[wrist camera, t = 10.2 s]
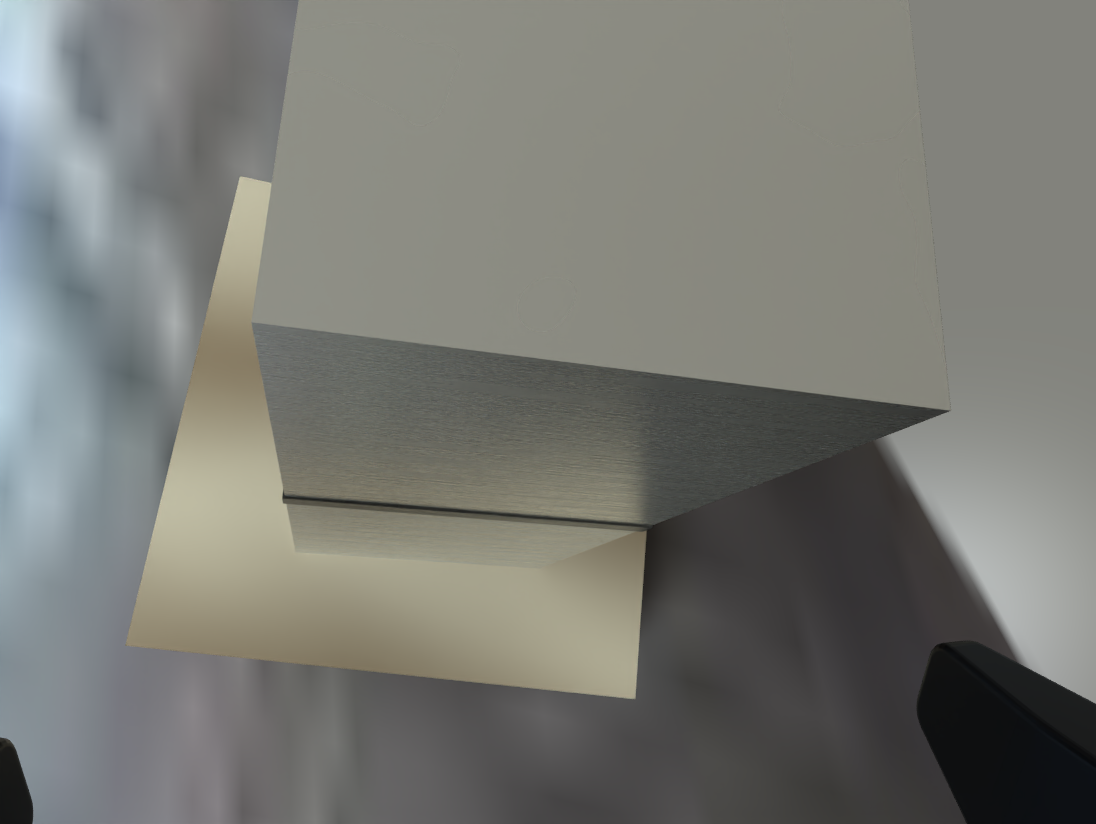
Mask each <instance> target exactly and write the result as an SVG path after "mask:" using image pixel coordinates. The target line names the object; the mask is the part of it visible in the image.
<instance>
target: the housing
mask: <svg viewBox="0 0 1096 824" xmlns="http://www.w3.org/2000/svg"><path fill="white" fill-rule="evenodd" d="M251 324H252V329H253V334H254V339H255V344H256V350H257V355H258V360H259V365H260V370H261V376H262V381H263V386H264V391H265V396H266V401H267V407H268V412H269V417H270V422H271V427H272V433H273V438H274V443H275V448H276V453H277V459H278V464H279V469H280V474H281V479H282V485H283V495H282V501H283V504H286V505H287V511H288V516H289V521H290V526H291V531H292V536H293V542H294V547H295V552H297V553H312V554H327V555H342V556H357V557H372V558H387V559H402V560H418V561H433V562H448V563H463V564H478V565H493V566H508V567H523V568H539V569H540V568H542V567H545V566H548V565H550V564H553V563H555V562H558V561H561V560H563V559H566V558H568V557H571V556H574V555H576V554H579V553H581V552H584V551H587V550H589V549H592V548H594V547H597V546H600V545H602V544H605V543H607V542H610V541H613V540H615V539H618V538H620V537H623V536H626V535H628V534H631V533H634V532H636V531H637V532H644V531H646V530H649V529H652V528H653V525H654V524H657V523H660V522H662V521H665V520H667V519H670V518H673V517H675V516H678V515H680V514H683V513H686V512H688V511H691V510H693V509H696V508H699V507H701V506H704V505H706V504H709V503H712V502H714V501H717V500H719V499H722V498H725V497H727V496H730V495H732V494H735V493H738V492H740V491H743V490H745V489H748V488H751V487H753V486H756V485H759V484H761V483H764V482H766V481H769V480H772V479H774V478H777V477H779V476H782V475H785V474H787V473H790V472H792V471H795V470H798V469H800V468H803V467H805V466H808V465H811V464H813V463H816V462H818V461H821V460H824V459H826V458H829V457H831V456H834V455H837V454H839V453H842V452H844V451H847V450H850V449H852V448H855V447H857V446H860V445H863V444H865V443H868V442H871V441H873V440H876V439H878V438H881V437H884V436H886V435H889V434H891V433H894V432H896V431H899V430H902V429H904V428H907V427H910V426H912V425H915V424H917V423H920V422H923V421H925V420H928V419H930V418H933V417H936V416H938V415H941V414H943V413H946V412H949V411H950V410H951V407H950V398H949V388H948V377H947V368H946V358H945V349H944V339H943V329H942V320H941V309H940V300H939V290H938V281H937V271H936V261H935V252H934V242H933V232H932V222H931V213H930V203H929V193H928V183H927V174H926V165H925V154H924V146H923V135H922V125H921V116H920V106H919V96H918V87H917V77H916V68H915V58H914V48H913V39H912V29H911V20H910V9H909V1H908V0H299V3H298V10H297V16H296V23H295V30H294V37H293V44H292V50H291V57H290V64H289V71H288V77H287V84H286V91H285V98H284V104H283V111H282V118H281V125H280V131H279V138H278V145H277V152H276V158H275V165H274V172H273V179H272V185H271V192H270V199H269V206H268V212H267V219H266V226H265V233H264V239H263V246H262V253H261V260H260V266H259V273H258V280H257V287H256V293H255V300H254V307H253V314H252V320H251Z"/></svg>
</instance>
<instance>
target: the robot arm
mask: <svg viewBox="0 0 1096 824" xmlns="http://www.w3.org/2000/svg"><path fill="white" fill-rule="evenodd" d="M917 715H918V719H919V723H920V725H921V728H922V730H923V732H924V734H925V737H926V739H927V741H928V743H929V745H930V747H931V749H932V751H933V753H934V756H935V758H936V760H937V762H938V764H939V766H940V768H941V770H942V772H943V774H944V777H945V779H946V781H947V783H948V785H949V787H950V789H951V791H952V793H953V796H954V798H955V800H956V802H957V804H958V806H959V808H960V810H961V812H962V815H963V817H964V819H965V821H966V823H967V824H1096V704H1095V703H1093V702H1091V701H1089V700H1088V699H1086V698H1083V697H1082V696H1080V695H1078V694H1076V693H1074V692H1072V691H1070V690H1068V689H1066V688H1065V687H1063V686H1061V685H1059V684H1057V683H1055V682H1053V681H1051V680H1049V679H1047V678H1045V677H1044V676H1042V675H1040V674H1038V673H1036V672H1034V671H1032V670H1030V669H1028V668H1026V667H1024V666H1023V665H1021V664H1019V663H1017V662H1015V661H1013V660H1011V659H1009V658H1007V657H1005V656H1003V655H1002V654H1000V653H998V652H996V651H994V650H992V649H990V648H988V647H986V646H984V645H982V644H980V643H978V642H975V641H957V642H947V643H941V644H938V645H936V646H935V647H934V649H933V650H932V651H931V653H930V656H929V659H928V663H927V666H926V670H925V673H924V677H923V680H922V684H921V688H920V691H919V695H918V698H917ZM32 823H33V803H32V799H31V796H30V792H29V789H28V786H27V783H26V780H25V777H24V774H23V771H22V767H21V764H20V761H19V758H18V755H17V752H16V749H15V747H14V745H13V744H12V742H11V741H10V740H8V739H6V738H0V824H32Z"/></svg>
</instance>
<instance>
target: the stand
mask: <svg viewBox="0 0 1096 824" xmlns="http://www.w3.org/2000/svg"><path fill="white" fill-rule="evenodd" d="M271 185H272V183H268V182H264V181H259V180H255V179H250V178H246V177H241V176H240V179H239V183H238V187H237V191H236V195H235V199H234V204H233V208H232V212H231V216H230V220H229V224H228V228H227V232H226V236H225V240H224V244H223V248H222V253H221V257H220V261H219V265H218V269H217V273H216V277H215V281H214V285H213V289H212V293H211V298H210V302H209V306H208V310H207V314H206V318H205V322H204V326H203V330H202V334H201V338H200V343H199V347H198V351H197V355H196V359H195V363H194V367H193V371H192V375H191V379H190V383H189V387H188V392H187V396H186V400H185V404H184V408H183V412H182V416H181V420H180V424H179V428H178V432H177V437H176V441H175V445H174V449H173V453H172V457H171V461H170V465H169V469H168V473H167V477H166V482H165V486H164V490H163V494H162V498H161V502H160V506H159V510H158V514H157V518H156V522H155V526H154V531H153V535H152V539H151V543H150V547H149V551H148V555H147V559H146V563H145V567H144V571H143V576H142V580H141V584H140V588H139V592H138V596H137V600H136V604H135V608H134V612H133V616H132V621H131V625H130V629H129V633H128V637H127V641H126V645H125V646H135V647H144V648H154V649H163V650H173V651H182V652H192V653H201V654H211V655H220V656H230V657H240V658H249V659H259V660H268V661H278V662H287V663H297V664H306V665H316V666H325V667H335V668H344V669H354V670H363V671H373V672H382V673H392V674H402V675H411V676H421V677H430V678H440V679H449V680H459V681H468V682H478V683H487V684H497V685H506V686H516V687H525V688H535V689H544V690H554V691H563V692H573V693H582V694H592V695H602V696H611V697H621V698H630V699H635V694H636V679H637V664H638V649H639V635H640V620H641V605H642V590H643V575H644V561H645V546H646V531H647V530H646V531H644V532H637V531H636V532H634V533H631V534H628V535H626V536H623V537H620V538H618V539H615V540H613V541H610V542H607V543H605V544H602V545H600V546H597V547H594V548H592V549H589V550H587V551H584V552H581V553H579V554H576V555H574V556H571V557H568V558H566V559H563V560H561V561H558V562H555V563H553V564H550V565H548V566H545V567H542V568H540V569H539V568H523V567H508V566H493V565H478V564H463V563H448V562H433V561H418V560H402V559H387V558H372V557H357V556H342V555H327V554H312V553H297V552H295V547H294V542H293V536H292V531H291V526H290V521H289V516H288V511H287V505H286V504H283V501H282V495H283V485H282V479H281V474H280V469H279V464H278V459H277V453H276V448H275V443H274V438H273V433H272V427H271V422H270V417H269V412H268V407H267V401H266V396H265V391H264V386H263V381H262V376H261V370H260V365H259V360H258V355H257V350H256V344H255V339H254V334H253V329H252V324H251V320H252V314H253V307H254V300H255V293H256V287H257V280H258V273H259V266H260V260H261V253H262V246H263V239H264V233H265V226H266V219H267V212H268V206H269V199H270V192H271Z"/></svg>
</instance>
